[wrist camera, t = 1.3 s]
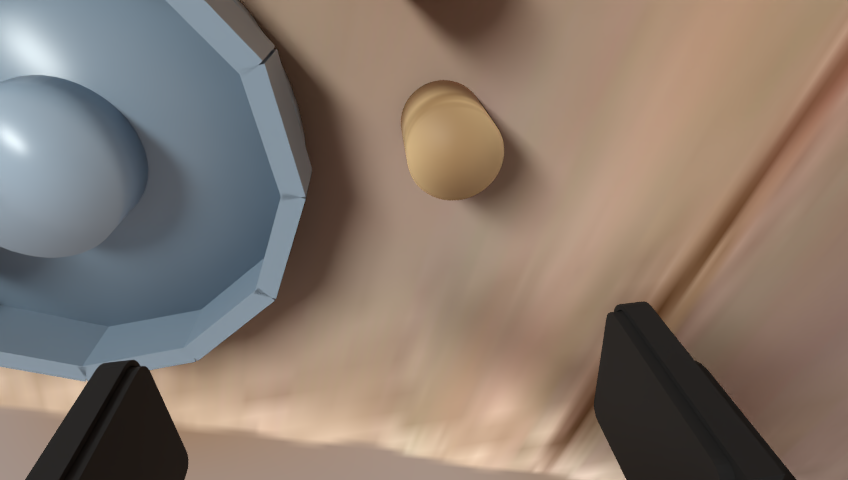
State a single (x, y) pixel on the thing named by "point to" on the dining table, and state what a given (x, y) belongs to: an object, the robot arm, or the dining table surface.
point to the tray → (190, 190)
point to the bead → (450, 141)
